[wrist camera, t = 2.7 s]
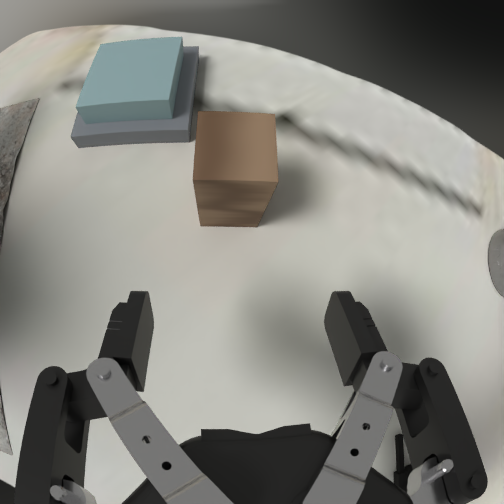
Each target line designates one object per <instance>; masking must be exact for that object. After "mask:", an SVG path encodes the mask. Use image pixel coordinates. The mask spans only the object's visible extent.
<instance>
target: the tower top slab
mask: <svg viewBox="0 0 504 504" xmlns="http://www.w3.org/2000/svg"><path fill="white" fill-rule="evenodd" d="M183 57H184V54H183V41H182V37H166V38H151V39H139V40H130V41H121V42H113V43H106V44H101V45H100V47H99V49H98V51H97V54H96V56H95V58H94V61H93V63H92V65H91V68H90V70H89V73H88V75H87V78H86V80H85V83H84V85H83V88H82V91H81V93H80V96H79V99H78V102H77V105H76V109H77V111H78V112H79V114H80V116H81V117H82V119H83V121H84V122H85V124H92V123H103V122H116V121H131V120H152V119H172V118H173V111H174V105H175V99H176V94H177V88H178V83H179V77H180V72H181V67H182V62H183Z"/></svg>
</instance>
